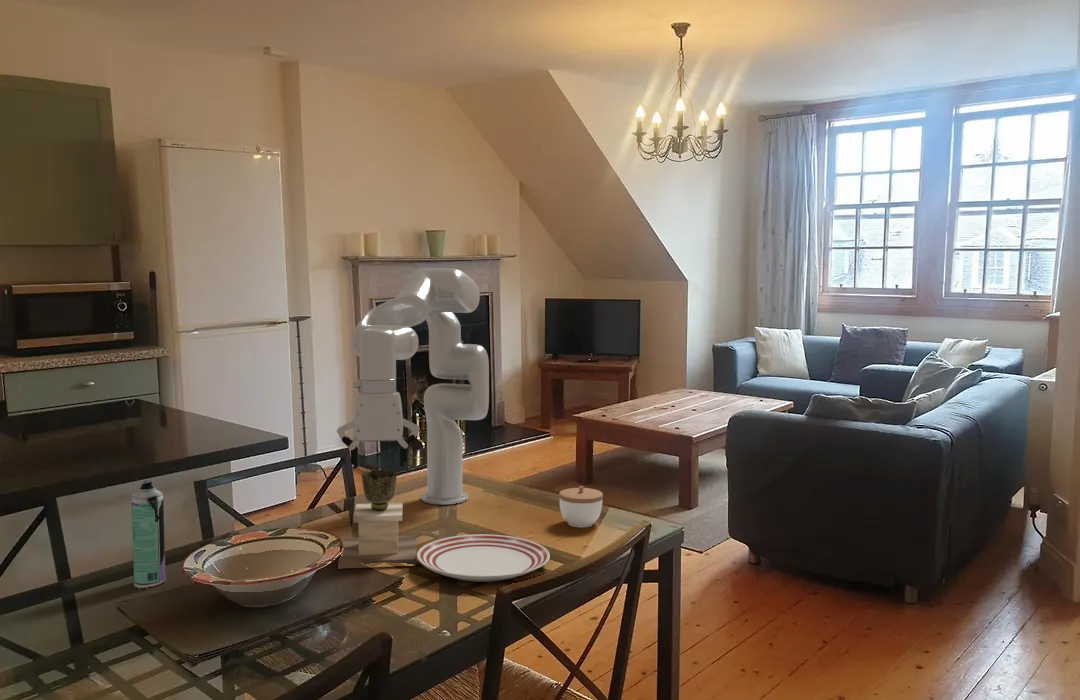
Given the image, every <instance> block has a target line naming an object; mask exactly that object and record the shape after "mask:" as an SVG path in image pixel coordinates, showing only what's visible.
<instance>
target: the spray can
mask: <svg viewBox="0 0 1080 700" xmlns="http://www.w3.org/2000/svg"><path fill="white" fill-rule="evenodd" d="M131 497H132V498H131V528H132V531H131V533H132V560H133V561H132V564H133V568H132V569H133V586H134V587H135V588H136V587H137V589H141V588H144V587H150V586H154V585H157V584H159V583H161V582H163V581H164V580H165V581H166V551H165V550H166V549H165V548H166V547H165V516H164V515H165V512H164V511H165V510H164V508H165V507H164V495H163V491H161V490H159V489H156V487H155V486H154V485H153V481H152V480H144V481H143V482H142V483H141V486H140V487H139V489H138V490H137V491H136V492H134V493H133V494H131Z"/></svg>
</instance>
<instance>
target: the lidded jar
mask: <svg viewBox="0 0 1080 700" xmlns="http://www.w3.org/2000/svg"><path fill="white" fill-rule="evenodd" d="M558 496H559V497H558V498H559V509H560V514H561V516H562V518H563V519H564V520H565V521H566V522H567V525H568V526H570V527H573V528H583V529H584V528H590V527H592V526H593V524H595V522H596V521H598V519H599V517H600V515H601V513H602V510H603V509H602V508H603V497H604V493H603V492H602V491H600V490H599V489H594V488H589V487H584V486H582V485H580V486H579V485H578V487H571V488H565V489H562V490H560V491H559V493H558Z"/></svg>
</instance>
